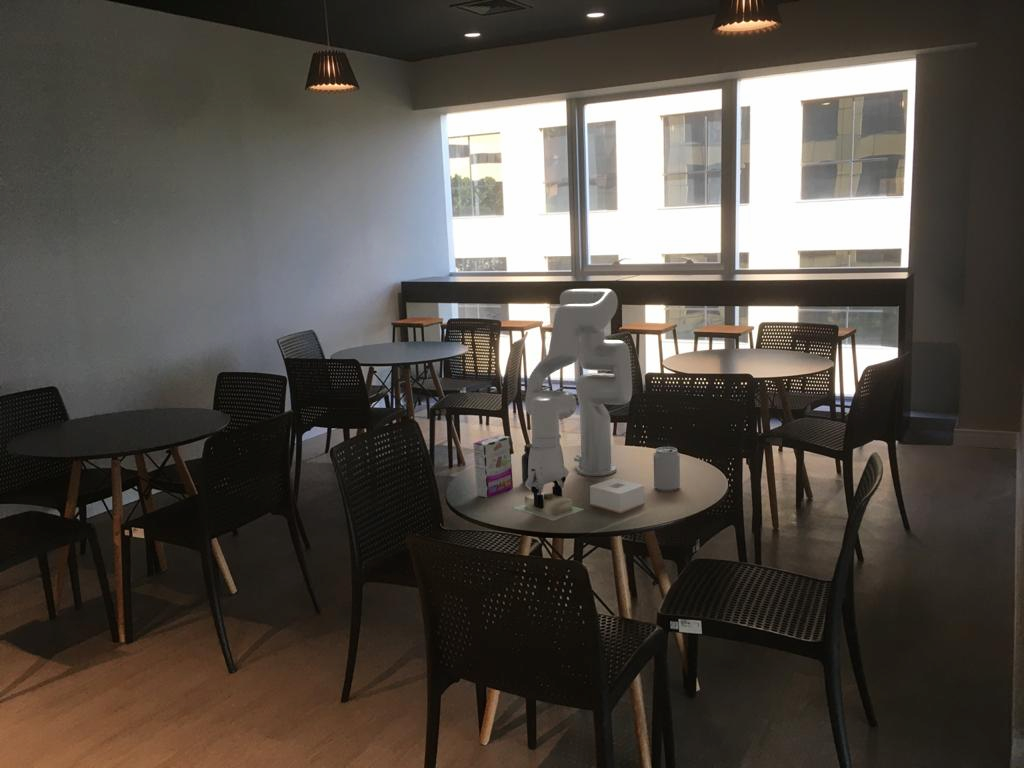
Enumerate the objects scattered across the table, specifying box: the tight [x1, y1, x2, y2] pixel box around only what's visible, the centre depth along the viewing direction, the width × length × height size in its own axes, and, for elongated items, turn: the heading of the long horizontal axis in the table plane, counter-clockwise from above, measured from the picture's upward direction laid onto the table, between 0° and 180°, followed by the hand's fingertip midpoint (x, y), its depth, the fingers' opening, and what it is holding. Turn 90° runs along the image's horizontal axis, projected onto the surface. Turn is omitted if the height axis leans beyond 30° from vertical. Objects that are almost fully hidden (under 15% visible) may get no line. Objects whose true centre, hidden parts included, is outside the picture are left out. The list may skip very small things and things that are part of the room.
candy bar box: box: [473, 434, 514, 499], centre depth 249 cm, size 11×5×16 cm, turn 137°
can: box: [653, 446, 681, 492], centre depth 246 cm, size 8×8×12 cm
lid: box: [524, 490, 573, 516], centre depth 232 cm, size 12×6×4 cm, turn 42°
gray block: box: [589, 477, 645, 514], centre depth 232 cm, size 11×10×6 cm
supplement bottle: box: [521, 443, 534, 486], centre depth 257 cm, size 7×7×12 cm
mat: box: [513, 503, 585, 522], centre depth 232 cm, size 16×12×1 cm
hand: (548, 503), depth 232 cm, fingers closed on lid, 6 cm apart
